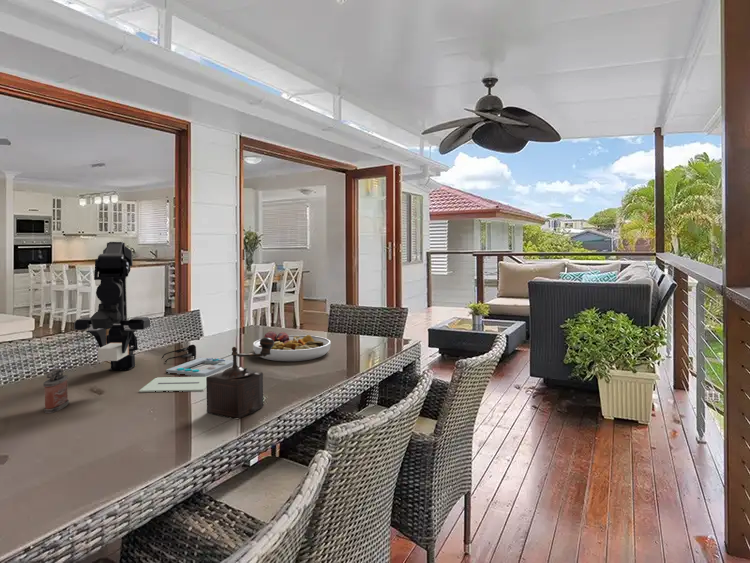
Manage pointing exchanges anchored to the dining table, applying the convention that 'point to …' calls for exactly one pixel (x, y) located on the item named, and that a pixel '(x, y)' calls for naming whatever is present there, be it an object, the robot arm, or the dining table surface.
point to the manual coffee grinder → (237, 387)
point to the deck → (112, 352)
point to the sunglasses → (190, 349)
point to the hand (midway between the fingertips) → (113, 353)
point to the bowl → (294, 347)
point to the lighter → (55, 391)
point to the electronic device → (208, 371)
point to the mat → (175, 384)
